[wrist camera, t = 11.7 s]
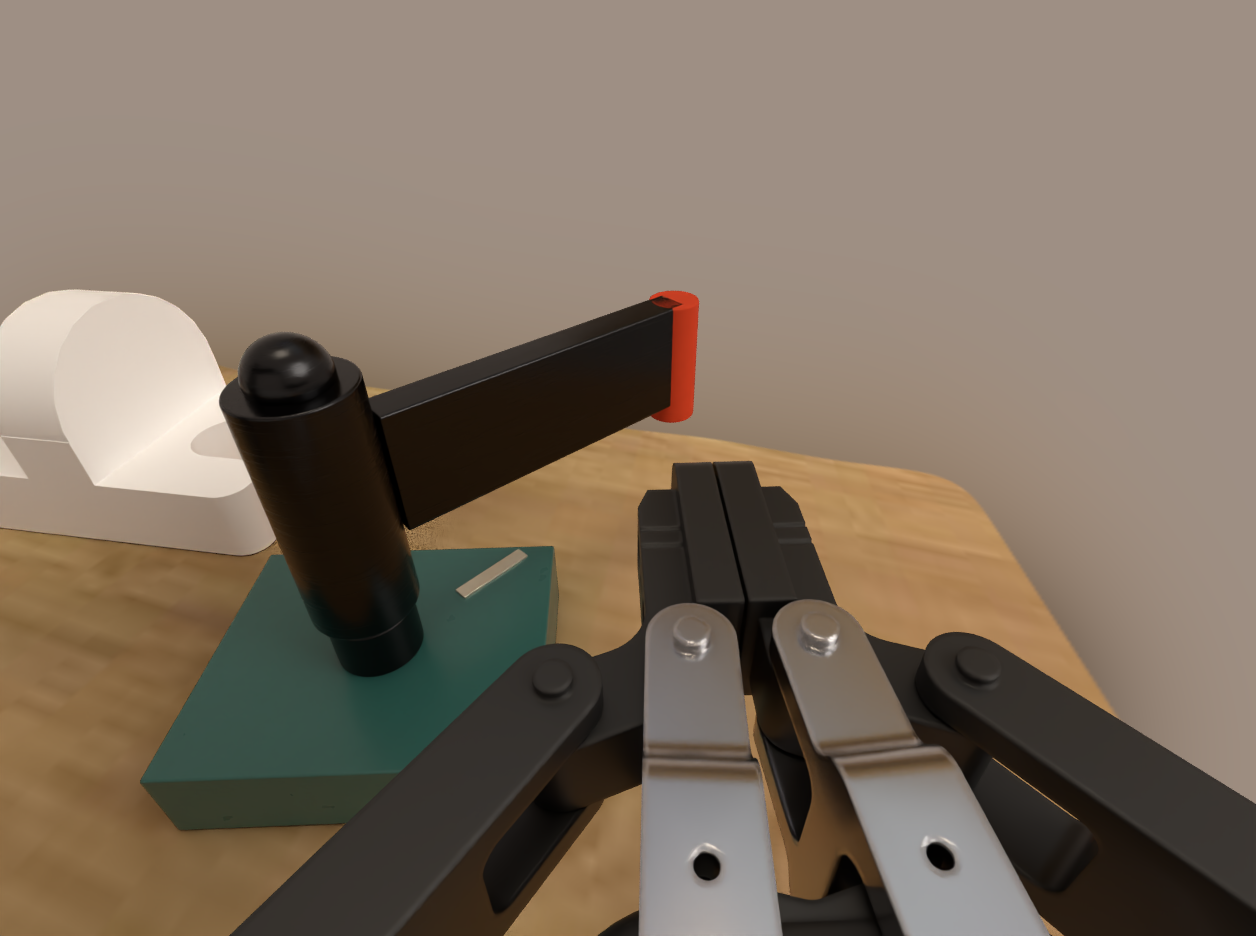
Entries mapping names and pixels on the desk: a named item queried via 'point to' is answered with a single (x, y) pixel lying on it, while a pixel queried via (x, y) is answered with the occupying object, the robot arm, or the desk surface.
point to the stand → (344, 691)
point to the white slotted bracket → (120, 427)
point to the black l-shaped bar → (433, 442)
